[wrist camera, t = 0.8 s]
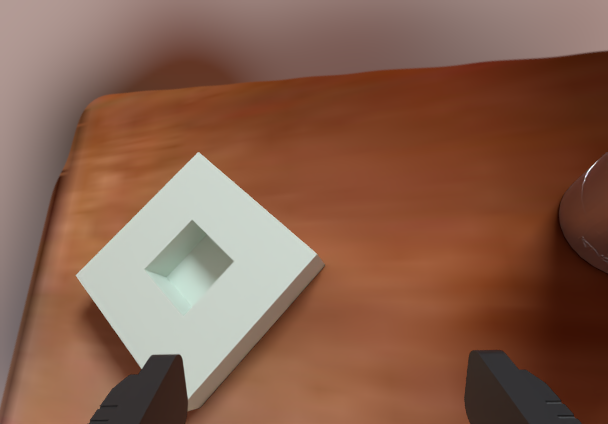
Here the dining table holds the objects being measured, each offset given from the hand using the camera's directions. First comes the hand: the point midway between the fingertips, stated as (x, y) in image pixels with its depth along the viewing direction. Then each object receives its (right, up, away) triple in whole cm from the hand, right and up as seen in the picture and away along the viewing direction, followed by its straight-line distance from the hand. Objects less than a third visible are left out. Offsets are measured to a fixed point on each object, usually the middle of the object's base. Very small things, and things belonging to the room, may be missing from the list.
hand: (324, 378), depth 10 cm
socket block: (-10, -1, +25) cm, 26 cm away
